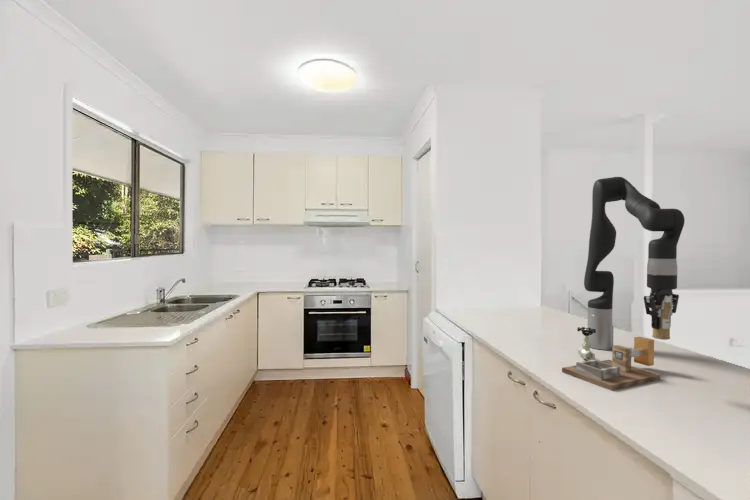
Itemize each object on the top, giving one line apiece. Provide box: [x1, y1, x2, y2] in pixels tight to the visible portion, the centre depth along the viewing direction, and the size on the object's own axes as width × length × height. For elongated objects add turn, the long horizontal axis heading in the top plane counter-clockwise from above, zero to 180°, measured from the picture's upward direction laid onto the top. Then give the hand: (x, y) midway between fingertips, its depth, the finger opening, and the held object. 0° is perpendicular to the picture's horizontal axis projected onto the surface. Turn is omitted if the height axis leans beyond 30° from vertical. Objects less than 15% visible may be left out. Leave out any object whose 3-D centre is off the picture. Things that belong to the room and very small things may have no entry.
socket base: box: [561, 344, 661, 391], centre depth 129 cm, size 24×18×9 cm
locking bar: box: [616, 336, 655, 367], centre depth 134 cm, size 15×5×9 cm, turn 113°
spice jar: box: [651, 296, 671, 341], centre depth 118 cm, size 5×5×14 cm
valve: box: [576, 326, 596, 361], centre depth 148 cm, size 7×7×12 cm
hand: (660, 327), depth 118 cm, fingers closed on spice jar, 4 cm apart
